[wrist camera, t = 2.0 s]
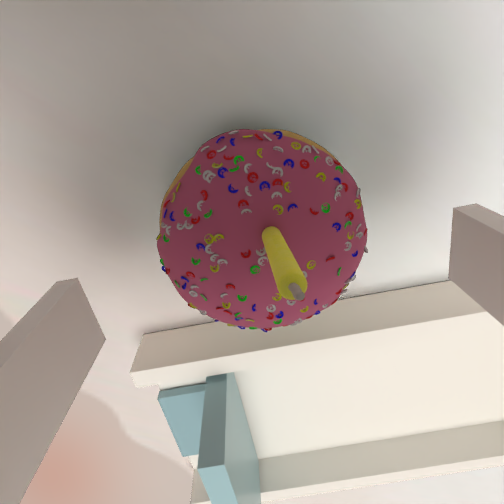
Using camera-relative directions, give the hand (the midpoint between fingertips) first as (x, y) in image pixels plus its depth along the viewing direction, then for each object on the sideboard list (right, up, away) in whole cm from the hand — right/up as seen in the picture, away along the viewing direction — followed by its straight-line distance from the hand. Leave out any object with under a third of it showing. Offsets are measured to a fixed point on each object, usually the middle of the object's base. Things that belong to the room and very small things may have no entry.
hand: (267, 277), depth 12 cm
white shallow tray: (+6, -8, +12) cm, 16 cm away
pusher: (-4, -10, +12) cm, 16 cm away
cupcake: (0, +4, +6) cm, 7 cm away
